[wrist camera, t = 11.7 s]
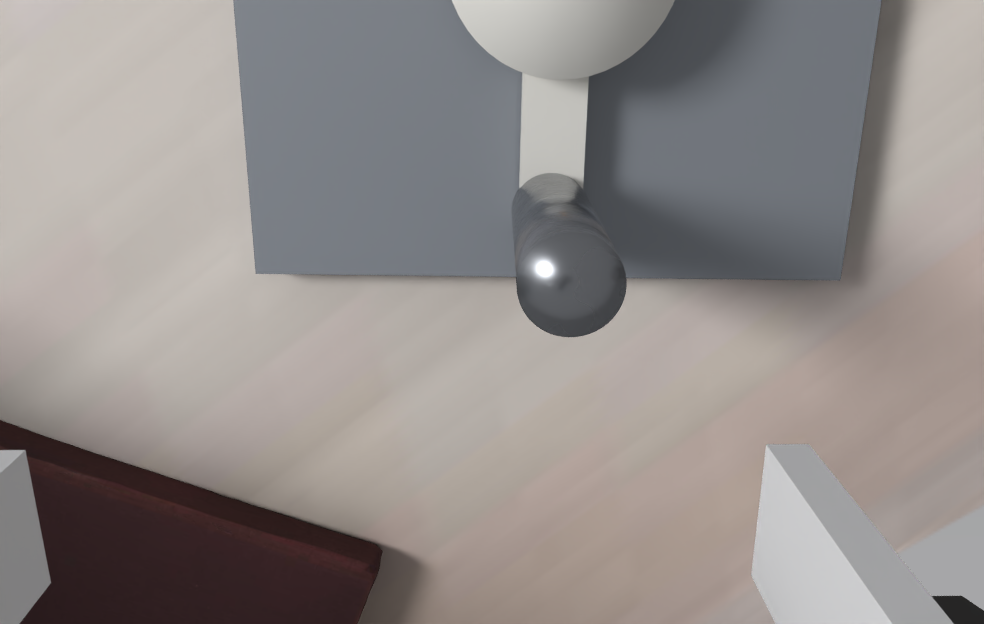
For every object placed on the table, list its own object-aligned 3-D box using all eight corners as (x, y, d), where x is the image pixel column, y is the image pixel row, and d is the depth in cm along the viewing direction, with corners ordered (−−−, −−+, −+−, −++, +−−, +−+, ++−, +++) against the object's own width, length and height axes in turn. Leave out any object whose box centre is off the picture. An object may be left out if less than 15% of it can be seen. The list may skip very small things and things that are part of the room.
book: (-9, 405, 39) (-53, 438, 36) (387, 537, 41) (378, 578, 38) (-53, 615, 43) (-96, 661, 40) (311, 726, 45) (297, 778, 42)
